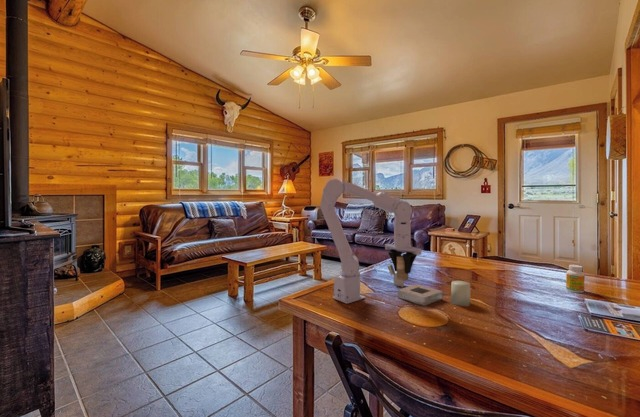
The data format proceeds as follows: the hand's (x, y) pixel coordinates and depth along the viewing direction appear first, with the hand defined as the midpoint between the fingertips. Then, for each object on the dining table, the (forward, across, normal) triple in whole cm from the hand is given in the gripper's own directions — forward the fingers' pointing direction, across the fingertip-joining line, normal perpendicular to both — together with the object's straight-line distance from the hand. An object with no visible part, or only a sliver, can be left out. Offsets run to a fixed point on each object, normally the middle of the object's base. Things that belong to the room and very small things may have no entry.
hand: (402, 271), depth 111 cm
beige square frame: (+10, -4, -5) cm, 12 cm away
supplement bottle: (+11, -36, -58) cm, 69 cm away
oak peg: (+2, 0, 0) cm, 2 cm away
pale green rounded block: (+10, -15, -12) cm, 22 cm away
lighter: (+10, +13, -12) cm, 21 cm away
